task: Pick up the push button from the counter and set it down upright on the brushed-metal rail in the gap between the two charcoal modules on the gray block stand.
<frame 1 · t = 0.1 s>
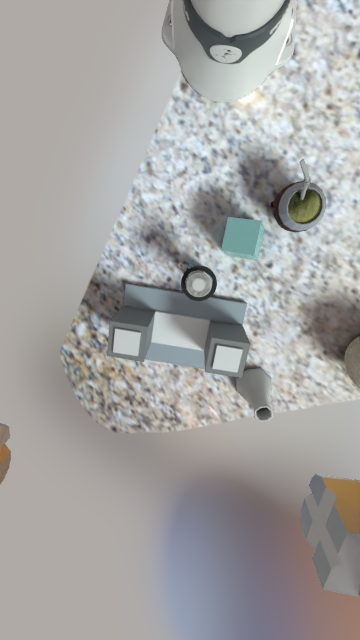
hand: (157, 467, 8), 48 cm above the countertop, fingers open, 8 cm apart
gray block stand: (180, 328, 58), on the countertop
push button: (195, 271, 54), on the countertop
flask: (253, 383, 61), on the countertop
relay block: (240, 235, 45), point 7 cm above the countertop, tilted 159°
mate gourd: (286, 206, 50), on the countertop
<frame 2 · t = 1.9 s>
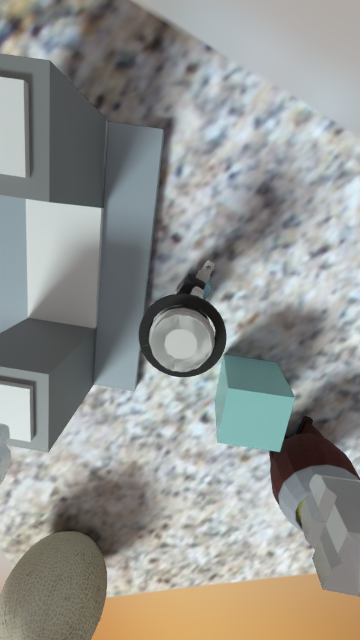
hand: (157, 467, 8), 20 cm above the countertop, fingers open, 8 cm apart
gray block stand: (70, 263, 27), on the countertop
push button: (192, 293, 27), on the countertop
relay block: (254, 421, 24), point 6 cm above the countertop, tilted 180°
mate gourd: (300, 437, 31), on the countertop
fruit: (79, 539, 38), on the countertop
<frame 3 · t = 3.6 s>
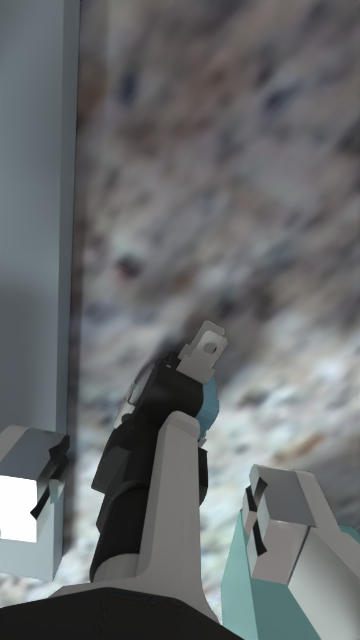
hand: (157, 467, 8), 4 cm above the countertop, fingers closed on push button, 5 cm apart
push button: (171, 390, 12), on the countertop, touching gripper
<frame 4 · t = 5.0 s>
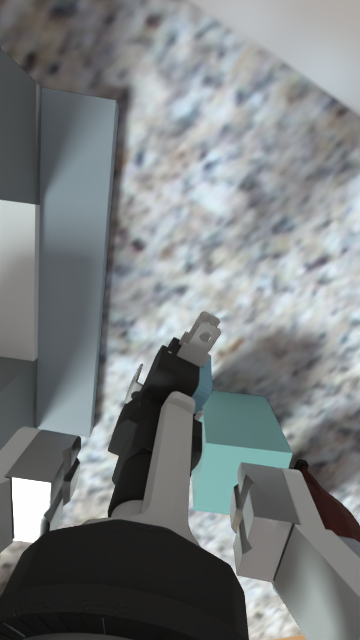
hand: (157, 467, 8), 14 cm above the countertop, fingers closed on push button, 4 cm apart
gray block stand: (0, 277, 21), on the countertop
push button: (175, 370, 13), point 8 cm above the countertop, touching gripper
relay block: (241, 482, 18), point 6 cm above the countertop, tilted 180°
mate gourd: (293, 483, 26), on the countertop
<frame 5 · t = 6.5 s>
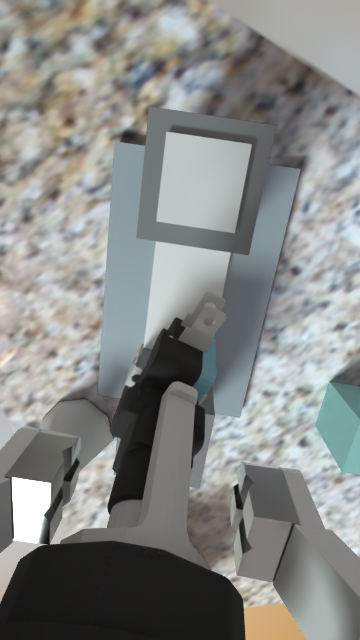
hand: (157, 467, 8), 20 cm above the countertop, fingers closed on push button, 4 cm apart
gray block stand: (185, 294, 27), on the countertop
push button: (177, 348, 13), point 15 cm above the countertop, touching gripper
flask: (80, 426, 33), on the countertop
when the fingers open (7 cm above the countertop, at t = 9.1 s): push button stays where it is, resting on gray block stand.
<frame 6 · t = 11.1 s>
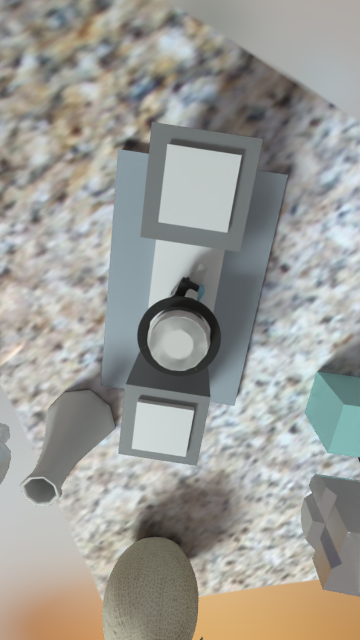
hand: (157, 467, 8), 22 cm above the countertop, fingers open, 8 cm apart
gray block stand: (183, 290, 29), on the countertop
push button: (187, 296, 28), point 1 cm above the countertop, touching gray block stand
flask: (83, 415, 34), on the countertop
fruit: (160, 544, 40), on the countertop
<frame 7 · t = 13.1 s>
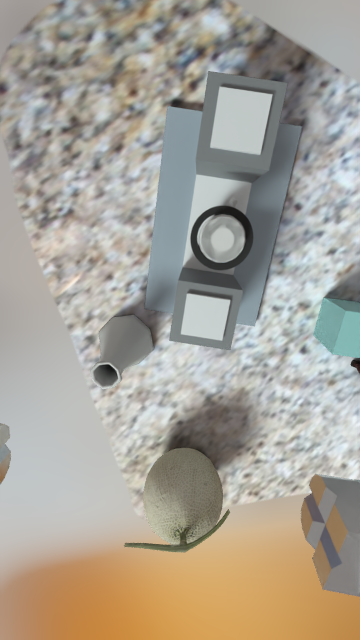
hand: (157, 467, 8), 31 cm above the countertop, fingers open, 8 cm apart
gray block stand: (214, 226, 36), on the countertop
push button: (218, 228, 35), point 1 cm above the countertop, touching gray block stand
flask: (127, 339, 41), on the countertop
fruit: (187, 459, 47), on the countertop
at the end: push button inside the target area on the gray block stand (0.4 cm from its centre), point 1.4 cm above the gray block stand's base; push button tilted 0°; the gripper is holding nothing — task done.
